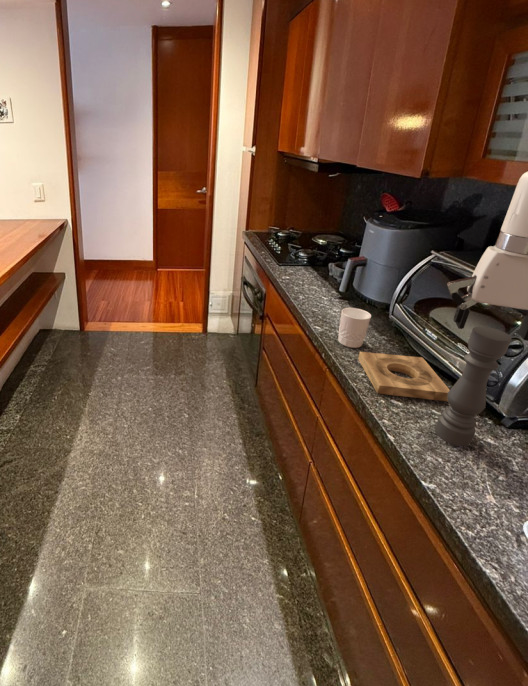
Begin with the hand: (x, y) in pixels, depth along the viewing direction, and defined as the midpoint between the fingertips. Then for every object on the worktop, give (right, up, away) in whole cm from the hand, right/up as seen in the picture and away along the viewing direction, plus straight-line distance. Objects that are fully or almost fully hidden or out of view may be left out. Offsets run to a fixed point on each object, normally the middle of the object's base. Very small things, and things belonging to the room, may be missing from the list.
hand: (490, 331), depth 73 cm
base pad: (+2, -16, +28) cm, 33 cm away
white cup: (-2, -9, +46) cm, 47 cm away
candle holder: (0, -24, +10) cm, 26 cm away
